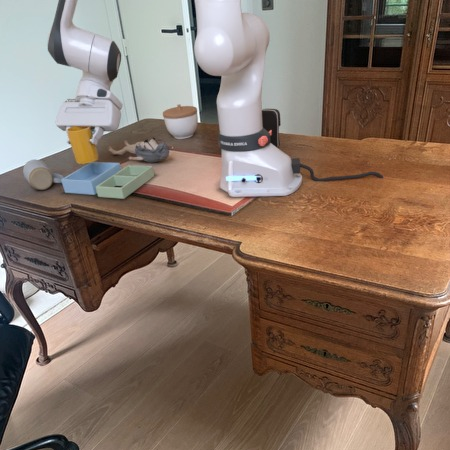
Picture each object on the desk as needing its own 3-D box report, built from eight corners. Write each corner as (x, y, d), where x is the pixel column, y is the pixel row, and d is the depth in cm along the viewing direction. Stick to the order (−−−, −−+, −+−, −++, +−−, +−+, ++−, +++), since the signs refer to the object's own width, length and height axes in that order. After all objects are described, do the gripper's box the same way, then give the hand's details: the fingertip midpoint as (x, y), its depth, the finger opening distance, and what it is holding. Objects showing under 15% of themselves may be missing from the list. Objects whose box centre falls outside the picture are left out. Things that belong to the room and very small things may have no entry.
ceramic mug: (33, 194, 131) (24, 169, 127) (28, 186, 137) (19, 162, 132) (68, 184, 135) (61, 160, 131) (61, 178, 141) (54, 154, 137)
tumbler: (103, 156, 130) (94, 124, 125) (89, 164, 125) (80, 131, 120) (85, 155, 132) (76, 124, 127) (71, 163, 128) (61, 131, 122)
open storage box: (123, 175, 136) (119, 162, 134) (94, 194, 126) (90, 181, 123) (94, 174, 140) (91, 161, 138) (65, 192, 130) (60, 179, 127)
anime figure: (127, 134, 157) (175, 134, 136) (133, 155, 161) (181, 158, 140) (103, 142, 153) (150, 143, 131) (110, 163, 156) (156, 167, 135)
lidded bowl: (205, 131, 167) (202, 100, 161) (190, 141, 158) (185, 109, 152) (177, 130, 172) (172, 100, 165) (160, 140, 163) (155, 109, 156)
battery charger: (282, 144, 145) (281, 107, 138) (277, 148, 142) (276, 111, 135) (263, 143, 148) (262, 107, 141) (258, 146, 145) (256, 110, 139)
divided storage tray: (154, 175, 133) (152, 166, 132) (124, 198, 121) (121, 188, 119) (130, 174, 136) (128, 165, 135) (98, 196, 124) (95, 186, 122)
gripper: (56, 93, 128) (45, 137, 126) (114, 91, 120) (103, 139, 119) (71, 105, 133) (60, 148, 132) (127, 104, 126) (116, 150, 125)
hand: (81, 143), depth 125 cm, fingers closed on tumbler, 6 cm apart
